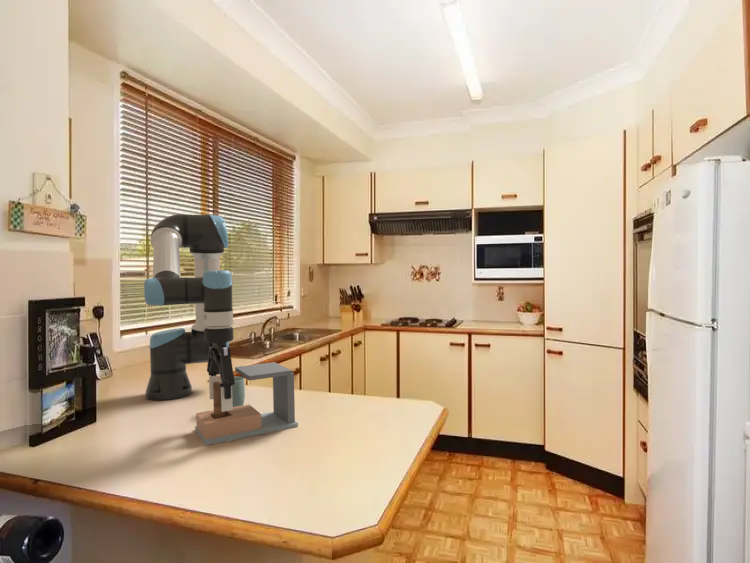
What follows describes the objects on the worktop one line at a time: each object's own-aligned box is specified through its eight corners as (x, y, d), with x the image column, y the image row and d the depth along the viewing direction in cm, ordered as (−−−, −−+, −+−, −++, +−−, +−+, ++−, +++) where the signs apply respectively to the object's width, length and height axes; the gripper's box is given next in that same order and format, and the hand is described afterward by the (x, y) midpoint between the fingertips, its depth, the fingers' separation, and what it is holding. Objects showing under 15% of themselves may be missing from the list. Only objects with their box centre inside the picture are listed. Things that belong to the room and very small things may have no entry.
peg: (225, 422, 129) (225, 380, 129) (229, 426, 126) (228, 382, 126) (212, 425, 127) (211, 381, 127) (215, 428, 124) (214, 384, 124)
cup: (237, 414, 143) (236, 382, 142) (214, 413, 144) (213, 381, 144) (249, 407, 150) (248, 376, 150) (227, 406, 152) (226, 375, 152)
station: (195, 429, 130) (193, 372, 130) (280, 413, 143) (279, 361, 143) (206, 445, 118) (204, 382, 118) (297, 426, 131) (296, 369, 131)
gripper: (195, 323, 135) (197, 396, 135) (215, 333, 114) (217, 419, 114) (221, 321, 139) (223, 392, 139) (245, 330, 118) (247, 413, 118)
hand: (220, 404), depth 127 cm, fingers open, 13 cm apart
